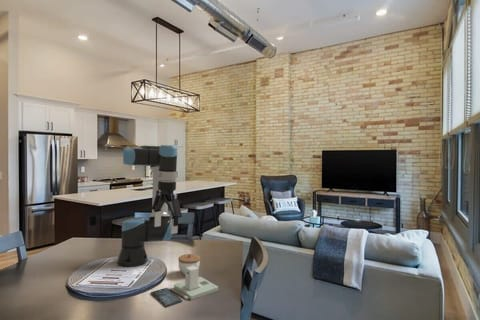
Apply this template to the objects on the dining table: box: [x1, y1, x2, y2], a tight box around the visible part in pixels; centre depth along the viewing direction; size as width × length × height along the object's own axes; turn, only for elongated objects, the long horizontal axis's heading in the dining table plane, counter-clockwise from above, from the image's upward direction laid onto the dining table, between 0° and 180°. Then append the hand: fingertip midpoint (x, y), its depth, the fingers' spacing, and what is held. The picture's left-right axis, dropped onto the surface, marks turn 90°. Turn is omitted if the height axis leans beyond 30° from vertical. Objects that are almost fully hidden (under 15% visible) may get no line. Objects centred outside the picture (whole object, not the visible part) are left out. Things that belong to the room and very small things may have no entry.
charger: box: [184, 266, 200, 291], centre depth 127 cm, size 4×4×10 cm
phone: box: [150, 287, 183, 308], centre depth 120 cm, size 14×7×1 cm, turn 41°
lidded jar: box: [177, 253, 201, 276], centre depth 146 cm, size 11×11×9 cm
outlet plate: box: [173, 276, 219, 301], centre depth 129 cm, size 14×14×2 cm
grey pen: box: [166, 286, 190, 300], centre depth 124 cm, size 13×1×1 cm, turn 50°
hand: (165, 229), depth 127 cm, fingers open, 13 cm apart
